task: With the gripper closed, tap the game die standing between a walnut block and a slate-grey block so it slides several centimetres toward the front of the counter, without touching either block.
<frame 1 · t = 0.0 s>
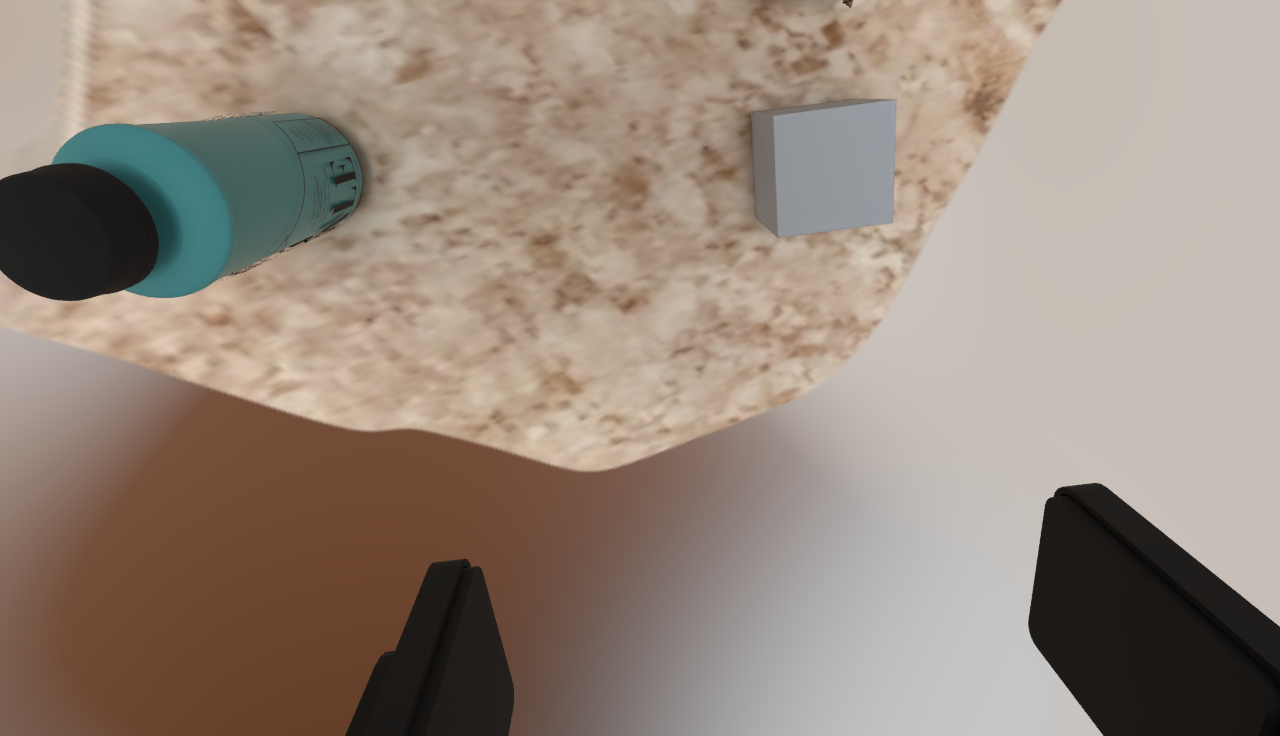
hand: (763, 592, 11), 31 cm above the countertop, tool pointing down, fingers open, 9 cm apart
slate block: (804, 160, 38), on the countertop
beverage bottle: (322, 169, 38), on the countertop
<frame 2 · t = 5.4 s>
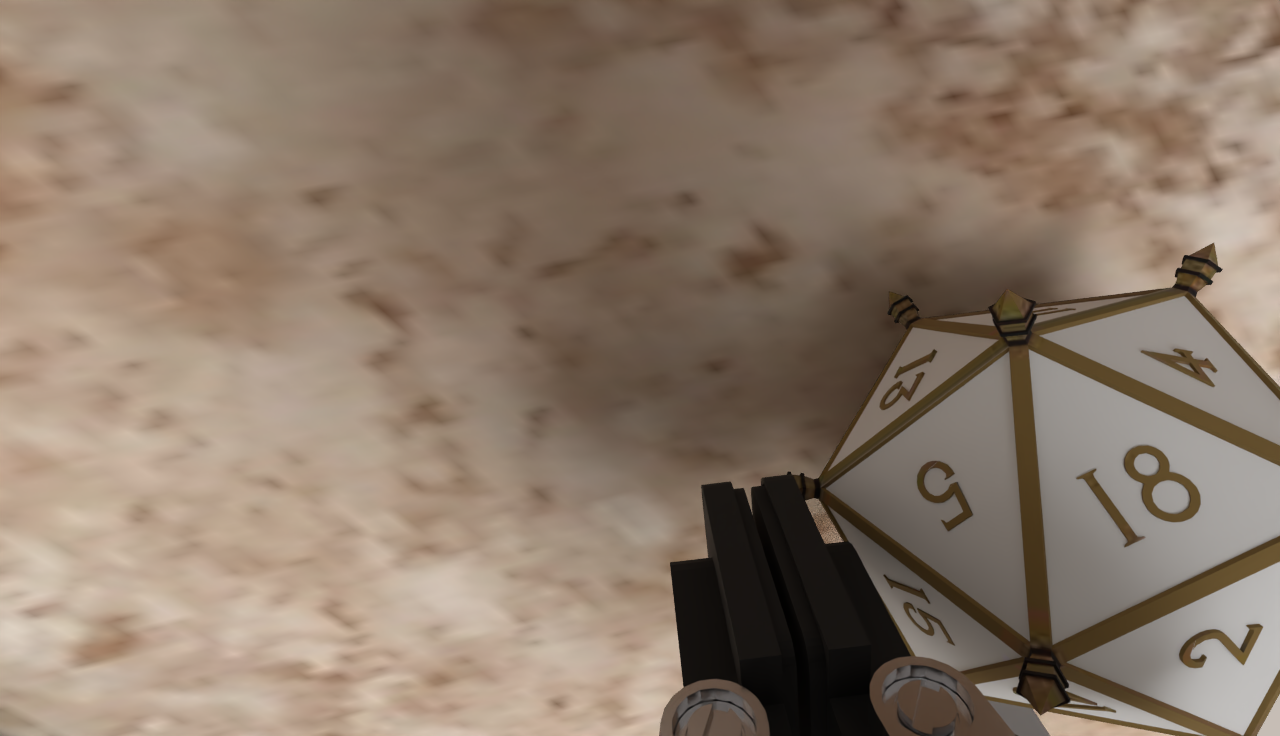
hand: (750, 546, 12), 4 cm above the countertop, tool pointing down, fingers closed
slate block: (886, 730, 20), on the countertop
game die: (930, 393, 15), on the countertop, touching gripper
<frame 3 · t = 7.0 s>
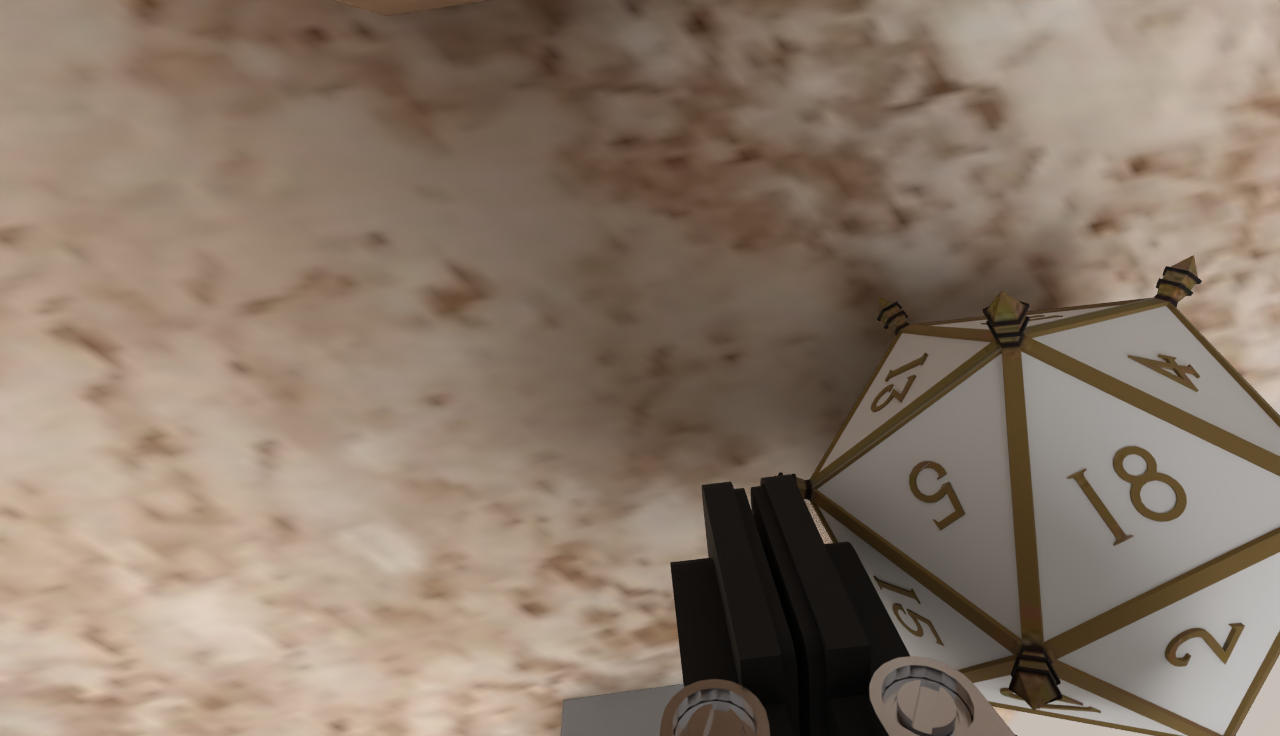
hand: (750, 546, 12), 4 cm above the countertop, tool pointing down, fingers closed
game die: (916, 400, 16), on the countertop, touching gripper
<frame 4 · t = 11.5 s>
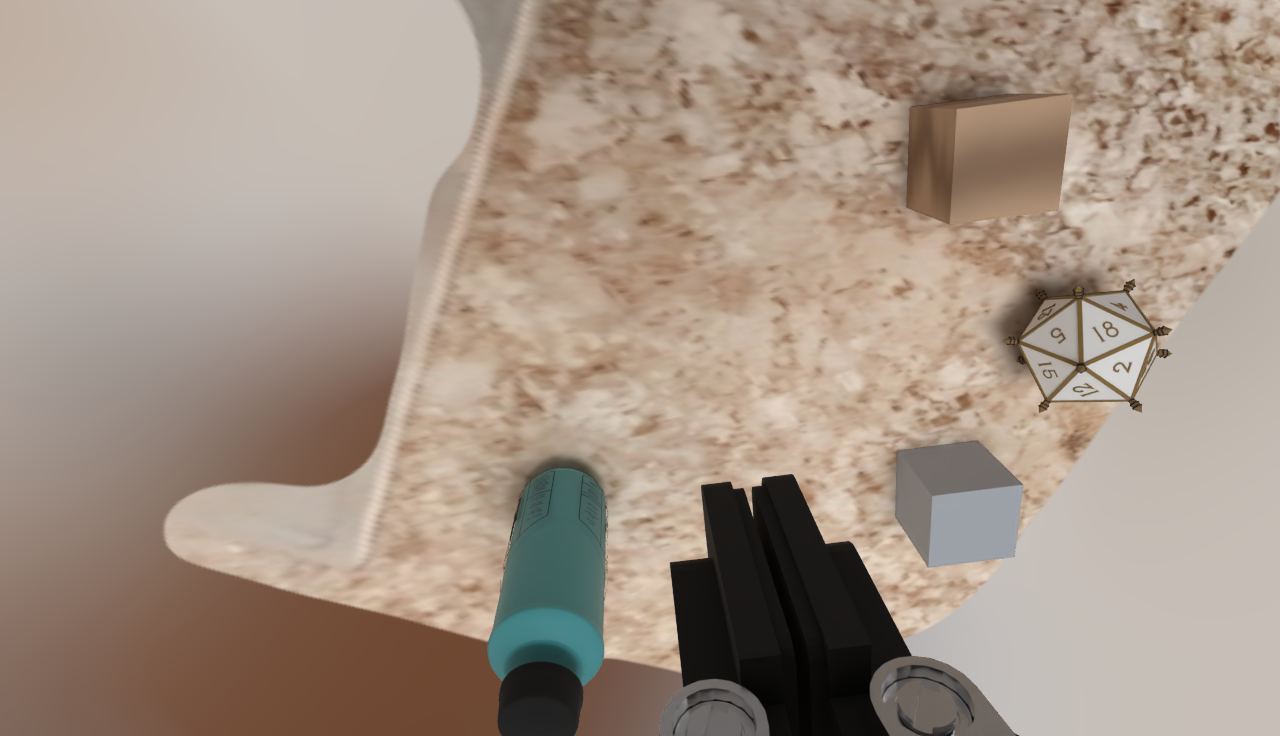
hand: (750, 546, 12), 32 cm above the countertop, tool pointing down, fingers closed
slate block: (935, 479, 50), on the countertop
game die: (1046, 325, 45), on the countertop
walnut block: (955, 152, 40), on the countertop
beverage bottle: (566, 489, 49), on the countertop
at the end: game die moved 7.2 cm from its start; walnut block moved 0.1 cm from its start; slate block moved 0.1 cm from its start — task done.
